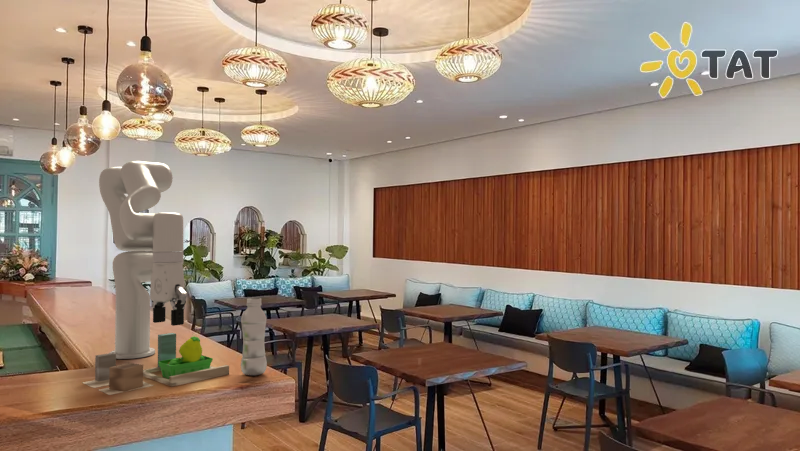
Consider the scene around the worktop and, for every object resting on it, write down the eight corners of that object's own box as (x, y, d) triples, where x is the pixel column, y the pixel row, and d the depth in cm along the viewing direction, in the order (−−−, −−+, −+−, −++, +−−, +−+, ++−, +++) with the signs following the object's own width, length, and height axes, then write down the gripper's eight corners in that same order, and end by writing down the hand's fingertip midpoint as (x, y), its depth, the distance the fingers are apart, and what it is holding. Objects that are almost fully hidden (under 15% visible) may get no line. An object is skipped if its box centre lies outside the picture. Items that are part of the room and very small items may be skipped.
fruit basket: (198, 373, 146) (198, 330, 146) (216, 378, 140) (217, 334, 140) (156, 381, 137) (156, 336, 137) (174, 388, 131) (174, 341, 132)
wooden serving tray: (136, 377, 140) (136, 337, 140) (191, 366, 152) (191, 330, 152) (171, 390, 128) (172, 347, 129) (229, 377, 140) (229, 338, 140)
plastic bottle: (260, 378, 140) (260, 300, 140) (235, 377, 141) (236, 299, 142) (270, 372, 146) (271, 297, 147) (247, 371, 148) (248, 296, 148)
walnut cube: (109, 389, 126) (109, 367, 126) (128, 383, 131) (128, 362, 131) (124, 391, 124) (124, 369, 124) (143, 386, 128) (143, 364, 129)
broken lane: (81, 387, 131) (82, 357, 132) (124, 379, 139) (124, 350, 139) (109, 400, 121) (109, 367, 122) (153, 390, 129) (153, 359, 129)
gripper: (139, 259, 148) (138, 322, 148) (170, 259, 137) (170, 328, 137) (165, 258, 154) (165, 319, 154) (198, 258, 143) (198, 324, 142)
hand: (168, 323), depth 145 cm, fingers open, 9 cm apart
